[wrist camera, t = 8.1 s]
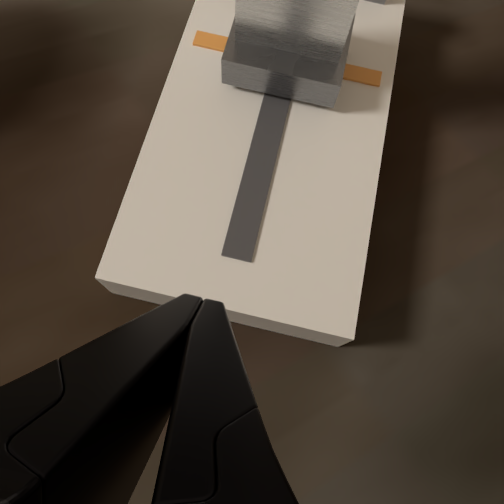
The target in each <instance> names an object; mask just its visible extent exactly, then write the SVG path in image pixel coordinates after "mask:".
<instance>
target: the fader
mask: <svg viewBox="0 0 504 504" xmlns="http://www.w3.org/2000/svg"><path fill="white" fill-rule="evenodd" d="M358 3H359V0H235V17H234V21H233V24H232V27H231V30H230V33H229V36H228V39H227V43H226V46H225V49H224V52H223V55H222V58H221V76H222V83H223V84H228V85H232V86H237V87H241V88H245V89H250V90H254V91H259V92H263V93H267V94H272V95H276V96H281V97H285V98H290V99H294V100H298V101H303V102H307V103H312V104H316V105H320V106H325V107H329V108H334V105H335V102H336V99H337V97H338V94H339V91H340V88H341V85H342V80H343V75H344V70H345V65H346V60H347V55H348V50H349V45H350V40H351V35H352V30H353V25H354V20H355V14H356V13H355V12H356V9H357V6H358Z"/></svg>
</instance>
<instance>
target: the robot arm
mask: <svg viewBox="0 0 504 504" xmlns="http://www.w3.org/2000/svg"><path fill="white" fill-rule="evenodd" d="M257 408H258V406H257V403H256V400H255V397H254V394H253V391H252V388H251V385H250V382H249V379H248V376H247V373H246V370H245V367H244V363H243V360H242V357H241V354H240V351H239V348H238V345H237V342H236V339H235V336H234V333H233V330H232V327H231V324H230V321H229V318H228V315H227V312H226V309H225V306H224V303H223V302H220V301H216V300H211V299H204V300H203V299H202V297H199V296H195V295H191V294H186V293H185V294H182V295H180V296H178V297H176V298H174V299H172V300H170V301H168V302H166V303H164V304H162V305H161V306H159V307H157V308H155V309H153V310H151V311H149V312H147V313H145V314H143V315H141V316H139V317H137V318H135V319H133V320H132V321H130V322H128V323H126V324H124V325H122V326H120V327H118V328H116V329H114V330H112V331H110V332H108V333H106V334H104V335H102V336H101V337H99V338H97V339H95V340H93V341H91V342H89V343H87V344H85V345H83V346H81V347H79V348H77V349H75V350H73V351H72V352H70V353H68V354H66V355H64V356H62V357H60V358H59V360H54V361H52V362H50V363H48V364H46V365H44V366H42V367H40V368H38V369H36V370H34V371H32V372H30V373H28V374H26V375H24V376H22V377H20V378H18V379H16V380H14V381H12V382H10V383H7V384H5V385H3V386H0V504H128V502H129V500H130V497H131V495H132V493H133V491H134V489H135V487H136V485H137V483H138V481H139V479H140V476H141V474H142V472H143V470H144V468H145V466H146V464H147V462H148V460H149V458H150V455H151V453H152V451H153V449H154V447H155V445H156V443H157V441H158V439H159V436H160V434H161V432H162V430H163V428H164V426H165V424H166V422H167V420H168V418H169V422H168V427H167V432H166V436H165V441H164V446H163V451H162V455H161V460H160V465H159V470H158V474H157V479H156V484H155V489H154V493H153V498H152V503H151V504H299V503H298V501H297V499H296V497H295V495H294V493H293V491H292V489H291V487H290V485H289V483H288V481H287V479H286V477H285V475H284V472H283V470H282V468H281V466H280V464H279V462H278V459H277V457H276V455H275V453H274V451H273V448H272V446H271V443H270V440H269V437H268V435H267V432H266V429H265V427H264V424H263V421H262V418H261V415H260V412H259V410H258V409H257ZM169 415H170V417H169Z"/></svg>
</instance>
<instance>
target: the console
mask: <svg viewBox="0 0 504 504" xmlns="http://www.w3.org/2000/svg"><path fill="white" fill-rule="evenodd" d="M404 6H405V0H359V3H358V6H357V9H356V12H355V13H356V14H355V20H354V25H353V30H352V35H351V40H350V45H349V50H348V55H347V60H346V65H345V70H344V75H343V80H342V85H341V88H340V91H339V94H338V97H337V99H336V102H335V105H334V108H329V107H325V106H320V105H316V104H312V103H307V102H303V101H298V100H294V99H290V98H285V97H281V96H276V95H272V94H267V93H263V92H259V91H254V90H250V89H245V88H241V87H237V86H232V85H228V84H223V83H222V76H221V58H222V55H223V52H224V49H225V46H226V43H227V39H228V36H229V33H230V30H231V27H232V24H233V21H234V17H235V0H195V3H194V6H193V9H192V11H191V14H190V17H189V20H188V22H187V25H186V28H185V31H184V33H183V36H182V39H181V42H180V44H179V47H178V50H177V53H176V55H175V58H174V61H173V64H172V66H171V69H170V72H169V75H168V77H167V80H166V83H165V86H164V88H163V91H162V94H161V97H160V99H159V102H158V105H157V108H156V110H155V113H154V116H153V119H152V121H151V124H150V127H149V130H148V132H147V135H146V138H145V141H144V143H143V146H142V149H141V152H140V154H139V157H138V160H137V163H136V165H135V168H134V171H133V174H132V176H131V179H130V182H129V185H128V187H127V190H126V193H125V196H124V198H123V201H122V204H121V207H120V209H119V212H118V215H117V218H116V221H115V223H114V226H113V229H112V232H111V234H110V237H109V240H108V243H107V245H106V248H105V251H104V254H103V256H102V259H101V262H100V265H99V267H98V270H97V273H96V276H95V279H97V280H98V281H99V282H100V283H101V284H102V285H103V286H105V287H106V288H107V289H108V290H109V291H110V292H111V293H115V294H119V295H123V296H127V297H132V298H136V299H140V300H144V301H148V302H152V303H157V304H161V305H162V304H164V303H166V302H168V301H170V300H172V299H174V298H176V297H178V296H180V295H182V294H185V293H186V294H191V295H195V296H199V297H202V299H203V300H204V299H211V300H216V301H220V302H223V303H224V306H225V309H226V312H227V315H228V318H229V321H232V322H236V323H240V324H244V325H248V326H252V327H257V328H261V329H265V330H269V331H273V332H277V333H282V334H286V335H290V336H294V337H298V338H302V339H307V340H311V341H315V342H319V343H323V344H327V345H332V346H336V347H339V346H341V345H344V344H346V343H348V342H350V341H353V340H354V337H355V330H356V324H357V317H358V310H359V304H360V297H361V291H362V284H363V277H364V271H365V264H366V258H367V251H368V244H369V238H370V231H371V224H372V218H373V211H374V205H375V198H376V191H377V185H378V178H379V172H380V165H381V158H382V152H383V145H384V138H385V132H386V125H387V119H388V112H389V105H390V99H391V92H392V86H393V79H394V72H395V66H396V59H397V52H398V46H399V39H400V33H401V26H402V19H403V13H404Z"/></svg>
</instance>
